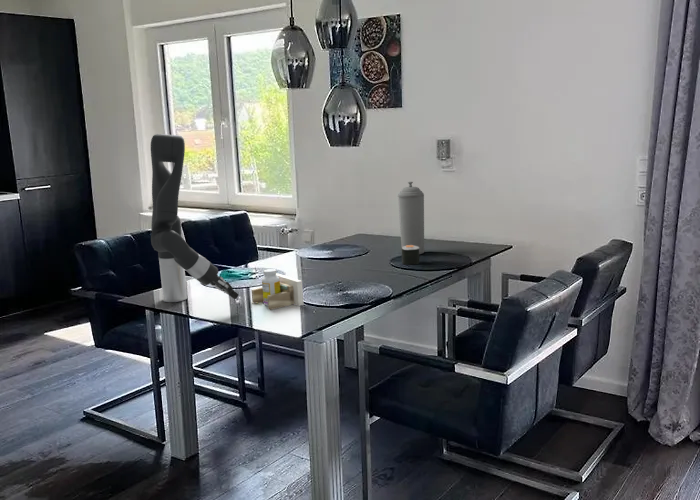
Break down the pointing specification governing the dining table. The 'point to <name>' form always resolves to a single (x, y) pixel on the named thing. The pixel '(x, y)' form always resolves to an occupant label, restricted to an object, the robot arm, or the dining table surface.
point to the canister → (412, 217)
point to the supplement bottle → (270, 284)
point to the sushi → (410, 255)
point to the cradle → (275, 296)
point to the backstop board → (296, 288)
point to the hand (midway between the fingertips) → (236, 296)
